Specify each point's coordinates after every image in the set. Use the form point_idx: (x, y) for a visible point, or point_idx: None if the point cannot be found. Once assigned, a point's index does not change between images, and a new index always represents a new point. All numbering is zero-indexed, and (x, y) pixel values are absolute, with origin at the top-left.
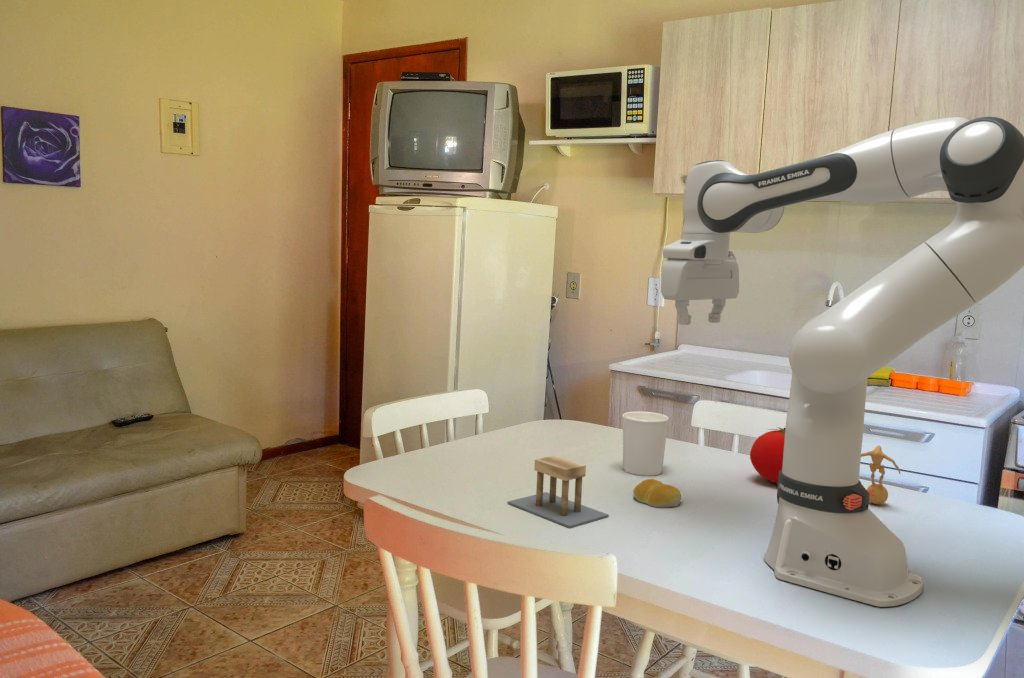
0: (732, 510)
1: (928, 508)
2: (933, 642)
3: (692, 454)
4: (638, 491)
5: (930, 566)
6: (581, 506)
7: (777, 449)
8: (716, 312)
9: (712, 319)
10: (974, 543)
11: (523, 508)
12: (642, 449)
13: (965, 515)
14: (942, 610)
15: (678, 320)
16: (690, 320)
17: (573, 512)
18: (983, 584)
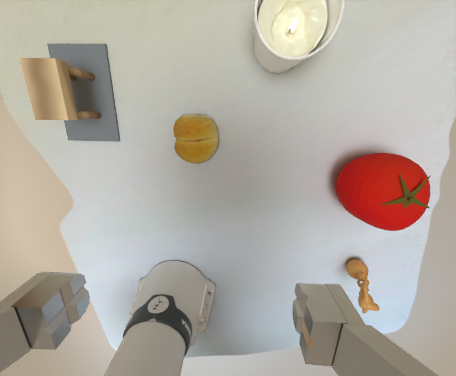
0: (232, 198)
1: (372, 290)
2: None
3: (413, 30)
4: (174, 128)
5: (238, 323)
6: (110, 107)
7: (351, 203)
8: (342, 358)
9: (301, 310)
10: None
11: None
12: (258, 52)
13: (373, 311)
14: None
15: (29, 279)
16: (72, 322)
17: None
18: (234, 345)
